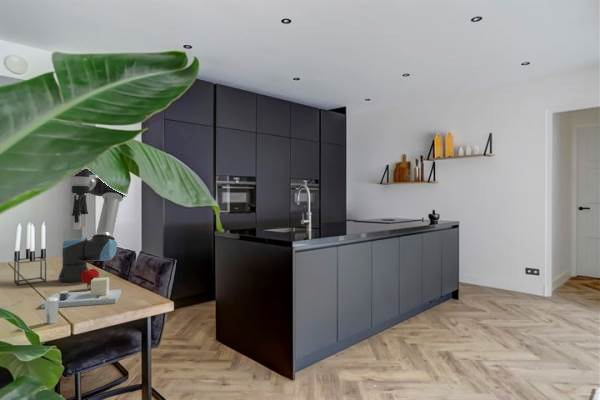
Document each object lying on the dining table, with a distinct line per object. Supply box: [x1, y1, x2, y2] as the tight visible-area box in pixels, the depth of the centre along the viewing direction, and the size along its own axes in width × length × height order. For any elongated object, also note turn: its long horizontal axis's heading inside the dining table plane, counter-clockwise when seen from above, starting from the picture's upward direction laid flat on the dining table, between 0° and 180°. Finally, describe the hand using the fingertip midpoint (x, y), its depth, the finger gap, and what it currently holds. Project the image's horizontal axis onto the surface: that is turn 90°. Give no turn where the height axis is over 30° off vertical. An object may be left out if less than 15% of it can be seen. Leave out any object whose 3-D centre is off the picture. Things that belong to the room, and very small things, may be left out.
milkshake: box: [43, 296, 60, 325], centre depth 133 cm, size 4×5×10 cm
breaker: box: [59, 290, 69, 300], centre depth 156 cm, size 3×2×3 cm
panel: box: [40, 288, 122, 309], centre depth 162 cm, size 17×28×2 cm, turn 109°
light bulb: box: [81, 268, 100, 291], centre depth 182 cm, size 9×7×10 cm
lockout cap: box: [90, 276, 110, 296], centre depth 166 cm, size 7×6×7 cm
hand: (80, 228), depth 179 cm, fingers open, 13 cm apart
